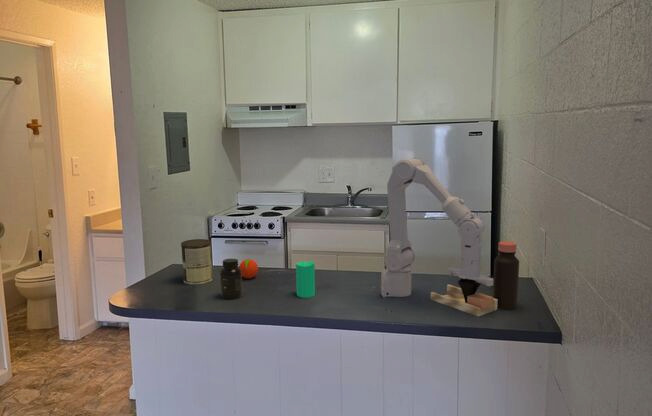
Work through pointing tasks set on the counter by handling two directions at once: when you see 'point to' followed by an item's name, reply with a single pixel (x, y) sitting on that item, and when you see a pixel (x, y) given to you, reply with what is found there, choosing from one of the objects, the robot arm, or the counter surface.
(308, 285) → the candle
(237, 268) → the supplement bottle
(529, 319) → the counter surface
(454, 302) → the wooden tray
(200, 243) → the coffee can
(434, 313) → the counter surface
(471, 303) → the block
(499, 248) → the vinegar
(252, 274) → the red tomato
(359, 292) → the counter surface
